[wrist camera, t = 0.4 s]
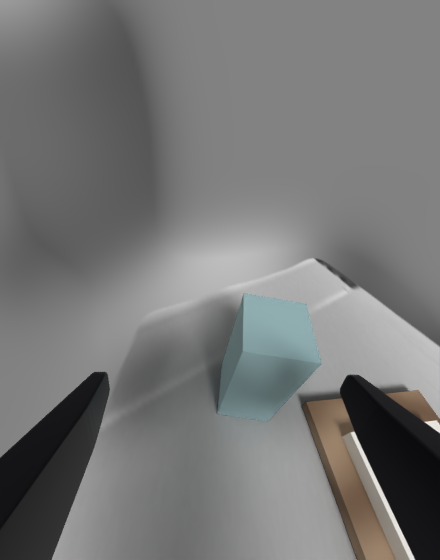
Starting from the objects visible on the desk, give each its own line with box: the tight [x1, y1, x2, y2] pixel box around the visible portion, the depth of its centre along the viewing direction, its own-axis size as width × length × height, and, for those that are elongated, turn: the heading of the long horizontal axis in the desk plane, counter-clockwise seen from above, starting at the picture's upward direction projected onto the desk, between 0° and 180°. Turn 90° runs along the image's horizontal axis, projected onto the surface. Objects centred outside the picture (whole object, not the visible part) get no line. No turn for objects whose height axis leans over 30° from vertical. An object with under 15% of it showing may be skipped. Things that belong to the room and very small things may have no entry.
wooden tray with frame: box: [302, 390, 440, 560], centre depth 18 cm, size 16×14×3 cm
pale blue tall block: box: [217, 293, 322, 421], centre depth 20 cm, size 5×5×12 cm
